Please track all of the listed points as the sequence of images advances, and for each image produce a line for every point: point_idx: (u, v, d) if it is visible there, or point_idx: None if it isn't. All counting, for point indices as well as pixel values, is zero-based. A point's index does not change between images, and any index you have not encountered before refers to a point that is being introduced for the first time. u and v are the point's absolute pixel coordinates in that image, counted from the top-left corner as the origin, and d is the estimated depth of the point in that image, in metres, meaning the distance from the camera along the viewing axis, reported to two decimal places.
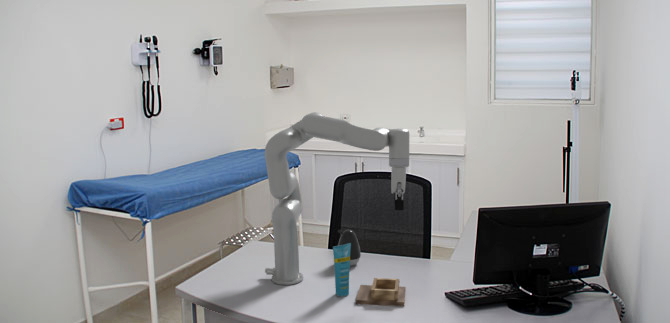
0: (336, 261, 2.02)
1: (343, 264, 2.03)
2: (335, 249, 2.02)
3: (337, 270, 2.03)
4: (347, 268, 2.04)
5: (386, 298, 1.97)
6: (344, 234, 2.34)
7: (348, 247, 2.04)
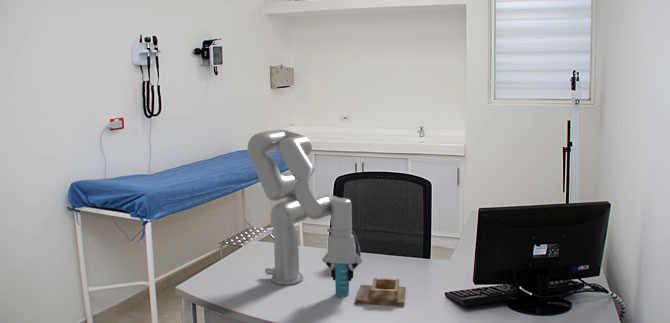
0: None
1: (343, 264, 2.03)
2: None
3: (337, 270, 2.03)
4: (347, 268, 2.04)
5: (386, 298, 1.97)
6: None
7: None
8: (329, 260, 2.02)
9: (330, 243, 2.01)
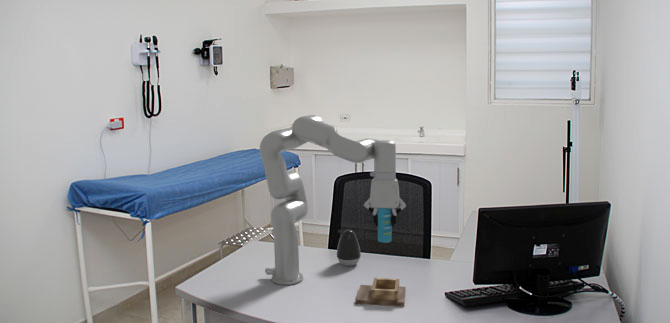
0: None
1: (386, 209, 1.96)
2: None
3: (380, 214, 1.96)
4: (390, 213, 1.97)
5: (386, 298, 1.97)
6: (344, 234, 2.34)
7: None
8: (372, 204, 1.95)
9: (373, 187, 1.94)
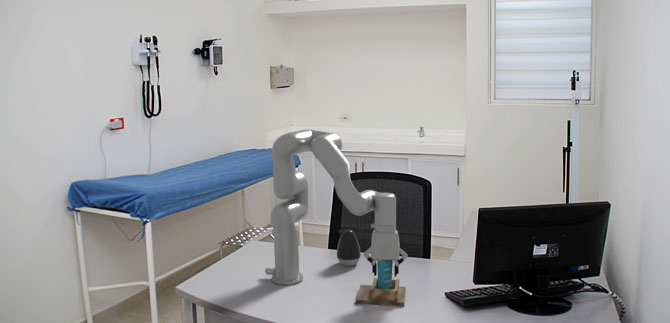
0: None
1: (386, 262, 1.99)
2: None
3: (380, 268, 1.99)
4: (390, 267, 2.00)
5: (386, 298, 1.97)
6: (344, 234, 2.34)
7: None
8: (373, 256, 1.98)
9: (374, 239, 1.97)
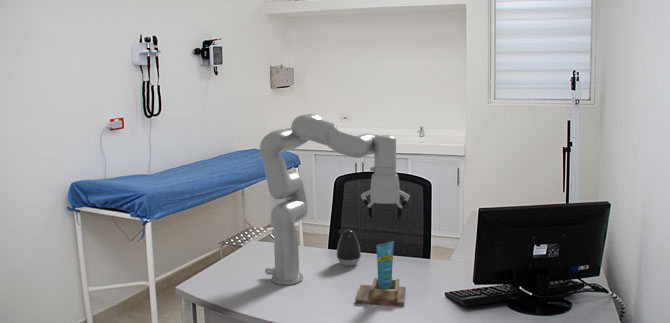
0: (379, 260, 1.98)
1: (386, 263, 1.99)
2: (378, 247, 1.98)
3: (380, 268, 1.99)
4: (390, 267, 2.00)
5: (386, 298, 1.97)
6: (344, 234, 2.34)
7: (391, 246, 2.01)
8: (372, 199, 1.95)
9: (373, 182, 1.94)
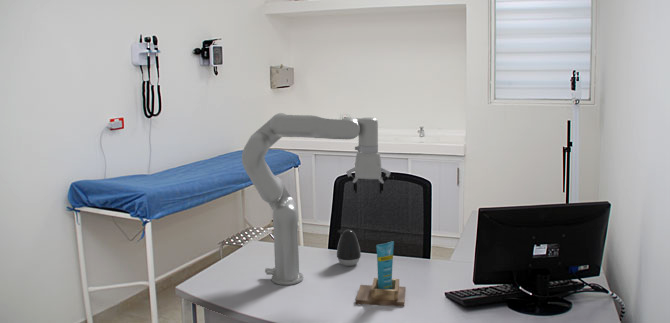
0: (379, 260, 1.98)
1: (386, 263, 1.99)
2: (378, 247, 1.98)
3: (380, 268, 1.99)
4: (390, 267, 2.00)
5: (386, 298, 1.97)
6: (344, 234, 2.34)
7: (391, 246, 2.01)
8: (356, 176, 2.16)
9: (357, 159, 2.15)
